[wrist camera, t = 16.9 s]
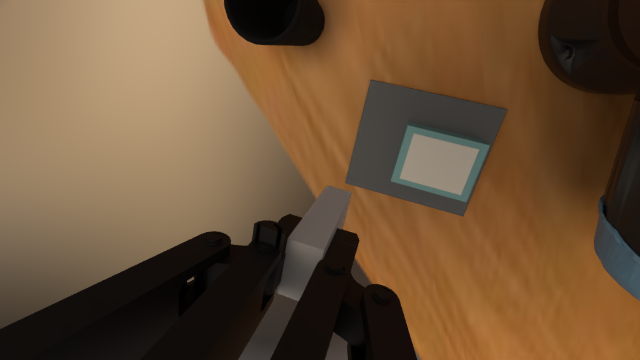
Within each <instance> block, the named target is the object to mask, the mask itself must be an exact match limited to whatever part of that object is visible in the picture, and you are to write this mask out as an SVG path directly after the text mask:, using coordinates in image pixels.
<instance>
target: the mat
mask: <svg viewBox="0 0 640 360" xmlns="http://www.w3.org/2000/svg"><path fill="white" fill-rule="evenodd" d="M506 111H507V109H503V108H499V107H494V106H489V105H485V104H480V103H476V102H471V101H466V100H462V99H457V98H453V97H448V96H443V95H439V94H434V93H430V92H425V91H420V90H416V89H411V88H407V87H402V86H397V85H393V84H388V83H384V82H379V81H374V80H371V81H370V85H369V89H368V93H367V97H366V101H365V105H364V109H363V113H362V117H361V121H360V125H359V129H358V134H357V138H356V142H355V146H354V150H353V154H352V158H351V162H350V166H349V170H348V174H347V178H346V182H345V183H347V184H351V185H354V186H358V187H361V188H365V189H368V190H372V191H375V192H379V193H382V194H386V195H390V196H393V197H397V198H400V199H404V200H407V201H411V202H414V203H418V204H421V205H425V206H428V207H432V208H435V209H439V210H443V211H446V212H450V213H453V214H457V215H460V216H464V213H465V211H466V208H467V206H468V203H469V201H470V199H471V196H472V194H473V191H474V189H475V186H476V184H477V182H478V179H479V177H480V174H481V172H482V169H483V167H484V165H485V162H486V160H487V157H488V155H489V152H490V150H491V148H492V145H493V143H494V140H495V138H496V136H497V133H498V131H499V128H500V126H501V123H502V121H503V119H504V116H505V114H506ZM407 122H412V123H416V124H420V125H424V126H428V127H432V128H436V129H441V130H445V131H449V132H453V133H457V134H461V135H465V136H470V137H474V138H478V139H482V140H484V141H485V142H486V143H488V144H489V145H490V147H489V149H488V151H487V154H486V156H485V159H484V161H483V163H482V166H481V168H480V171H479V173H478V175H477V178H476V180H475V183H474V185H473V188H472V190H471V192H470V195H469V197H468V200H467V202H463V201H460V200H456V199H452V198H449V197H445V196H442V195H438V194H435V193H431V192H427V191H424V190H420V189H417V188H413V187H409V186H406V185H402V184H399V183H395V182H392V181H391V176H392V171H393V168H394V165H395V161H396V158H397V155H398V152H399V148H400V145H401V142H402V139H403V135H404V132H405V129H406V125H407Z"/></svg>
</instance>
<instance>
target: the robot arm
mask: <svg viewBox="0 0 640 360" xmlns="http://www.w3.org/2000/svg"><path fill="white" fill-rule="evenodd" d="M539 44H540V49H541V53H542V55H543V58H544V60H545V62H546V64H547V65H548V67H549V68H550V70H551V71H552V72H553V73H554V74H555V75H556V76H557V77H558V78H559V79H560V80H562V81H563V82H565V83H566V84H568V85H570V86H572V87H574V88H577V89H579V90H582V91H586V92H591V93H599V94H618V95H619V94H632V93H636V97H635V99H634V102H633V105H632V108H631V112H630V115H629V118H628V121H627V124H626V127H625V131H624V134H623V137H622V140H621V143H620V146H619V150H618V153H617V156H616V159H615V162H614V165H613V168H612V172H611V175H610V178H609V181H608V184H607V187H606V191H605V194H604V195H603V196H602V197H601V198H600V201H599V205H598V211H599V220H598V224H597V228H596V233H595V237H594V248H595V252H596V254H597V256H598V257H599V259H600V260H601V263H602V265H603V267H604V269H605V270H606V271H607V272H608V274H609V275H610V276H611V277H612V278H613V279H614V280H615V281H616V282H617V283H618V284H619V285H620V286H621V287H623V288H624V289H625V290H626V291H627V292H629V293H630V294H631V295H632V296H634V297H635V298H636V299H638V300H639V301H640V0H545V3H544V5H543V8H542V12H541V16H540V21H539ZM351 194H352V192H349V191H345V190H342V189H338V188H335V187H331V186H328V185H327V186H326V188H325V189H324V190H323V192H322V193H321V194H320V196H319V197H318V198H317V200H316V201H315V203H314V204H313V205H312V206H311V208H310V209H309V210H308V212H307V213H306V214H305V216H304V217H303V218H301V217H298V216H294V215H291V214H289V215H286V216H284V217H282V218H281V219H280V220H279V221H278V223H277V222H274V221H259V222H257V223H255V224H254V230H253V237H252V242H251V243H250V244H249V245H248V246H241V245H232V244H231V239H230V237H229V236H228V235H226V234H224V233H221V232H216V231H213V232H206V233H203V234H200V235H198V236H196V237H194V238H192V239H190V240H188V241H186V242H183V243H181V244H179V245H177V246H175V247H173V248H171V249H169V250H167V251H164V252H162V253H160V254H158V255H156V256H154V257H152V258H150V259H148V260H145V261H143V262H141V263H139V264H137V265H135V266H133V267H131V268H128V269H127V270H125V271H122V272H120V273H118V274H116V275H114V276H112V277H109V278H107V279H105V280H103V281H101V282H99V283H97V284H95V285H93V286H91V287H88V288H86V289H84V290H82V291H80V292H78V293H76V294H73V295H71V296H69V297H67V298H65V299H63V300H61V301H59V302H57V303H55V304H52V305H50V306H48V307H46V308H44V309H42V310H40V311H38V312H35V313H33V314H31V315H29V316H27V317H25V318H23V319H21V320H18V321H16V322H14V323H12V324H10V325H8V326H6V327H4V328H2V329H0V360H238V359H239V357H240V355H241V354H242V352H243V350H244V348H245V347H246V345H247V344H248V342H249V340H250V339H251V337H252V335H253V334H254V332H255V330H256V328H257V327H258V325H259V323H260V322H261V320H262V318H263V317H264V315H265V313H266V312H267V310H268V308H269V307H270V305H271V303H272V302H273V298H274V293H275V290H276V288H277V287H278V285H279V288H278V294H281V295H284V296H286V297H289V298H292V299H295V300H297V301H299V302H298V304H297V306H296V308H295V311H294V312H293V314H292V317H291V318H290V320H289V322H288V325H287V326H286V329H285V331H284V333H283V335H282V337H281V339H280V341H279V343H278V345H277V347H276V349H275V351H274V353H273V355H272V357H271V359H270V360H325V358H326V355H327V351H328V348H329V345H330V341H331V338H332V335H333V332H335V333H336V334H337V335H339V336H340V337H342V338H343V339H344V340H346V341H347V342H348V344H347V353H348V360H417V357H416V354H415V351H414V347H413V344H412V341H411V337H410V334H409V330H408V327H407V324H406V320H405V317H404V314H403V310H402V307H401V304H400V300H399V298H398V296H397V295H396V294H395V293H394V292H393V291H392V290H391V289H389V288H387V287H386V286H383V285H379V284H371V285H368V286H367V287H366V288H365V287H363V286H362V285H360V284H359V283H357V282H356V281H355V280H354V278H353V277H352V275H351V268H352V265H353V261H354V258H355V254H356V251H357V247H358V243H359V238H358V236H357V234H355V233H352V232H349V231H346V230H342V229H343V225H344V221H345V217H346V213H347V209H348V205H349V201H350V198H351ZM192 277H194V280H192V281H190V282H188V283H187V280H189V279H191V278H192Z"/></svg>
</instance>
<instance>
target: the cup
mask: <svg viewBox="0 0 640 360" xmlns="http://www.w3.org/2000/svg"><path fill="white" fill-rule="evenodd" d="M224 6H225V10H226V14H227V17H228V19H229V21H230V23H231V25H232V27H233V28H234V29H235V31H236V32H237V33H238V34H239V35H240V36H241V37H243V38H244V39H245V40H247V41H249V42H251V43H254V44H258V45H289V46H305V45H309V44H311V43H313V42H315V41H316V40H317V39H318V38H319V36H320V35H321V33H322V31H323V28H324V23H325V20H324V13H323V10H322V8H321V6H320V4H319V3H318V1H317V0H224Z"/></svg>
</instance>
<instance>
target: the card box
mask: <svg viewBox="0 0 640 360" xmlns="http://www.w3.org/2000/svg"><path fill="white" fill-rule="evenodd" d="M489 147H490V145H489V144H488V143H486V142H485V141H484V140H482V139H478V138H474V137H470V136H465V135H461V134H457V133H453V132H449V131H445V130H441V129H436V128H432V127H428V126H424V125H420V124H416V123H412V122H407V125H406V129H405V132H404V135H403V139H402V142H401V145H400V148H399V152H398V155H397V158H396V161H395V165H394V168H393V171H392V176H391V181H392V182H395V183H399V184H402V185H406V186H409V187H413V188H417V189H420V190H424V191H427V192H431V193H435V194H438V195H442V196H445V197H449V198H452V199H456V200H460V201H463V202H467V200H468V197H469V195H470V192H471V190H472V188H473V185H474V183H475V180H476V178H477V175H478V173H479V171H480V168H481V166H482V163H483V161H484V159H485V156H486V154H487V151H488V149H489Z"/></svg>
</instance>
